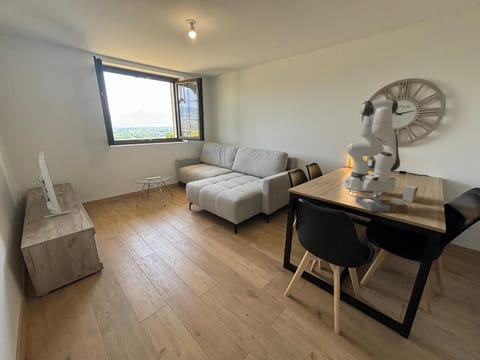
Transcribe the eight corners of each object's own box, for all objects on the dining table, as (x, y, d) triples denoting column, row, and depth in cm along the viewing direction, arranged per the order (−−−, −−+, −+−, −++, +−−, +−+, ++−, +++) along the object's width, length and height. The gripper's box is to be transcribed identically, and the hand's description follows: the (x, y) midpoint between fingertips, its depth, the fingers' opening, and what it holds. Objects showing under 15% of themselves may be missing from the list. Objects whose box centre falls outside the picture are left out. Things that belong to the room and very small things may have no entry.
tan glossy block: (373, 202, 139) (374, 196, 137) (387, 202, 139) (388, 196, 138) (390, 211, 123) (392, 205, 122) (406, 211, 123) (407, 205, 122)
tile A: (369, 198, 136) (369, 202, 137) (362, 198, 136) (362, 202, 136) (374, 201, 131) (374, 205, 132) (367, 201, 131) (366, 205, 132)
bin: (355, 201, 138) (356, 197, 137) (372, 202, 138) (373, 197, 138) (370, 211, 123) (371, 206, 122) (389, 211, 123) (391, 206, 122)
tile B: (389, 201, 128) (390, 198, 128) (397, 201, 129) (397, 198, 128) (395, 204, 124) (396, 201, 123) (403, 204, 124) (404, 201, 123)
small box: (411, 202, 139) (415, 188, 136) (401, 200, 143) (405, 186, 140) (415, 200, 143) (418, 186, 141) (405, 197, 148) (408, 184, 145)
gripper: (392, 176, 133) (388, 195, 137) (363, 175, 132) (359, 195, 136) (400, 178, 127) (395, 198, 130) (369, 178, 126) (365, 198, 130)
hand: (376, 196), depth 133 cm, fingers closed
